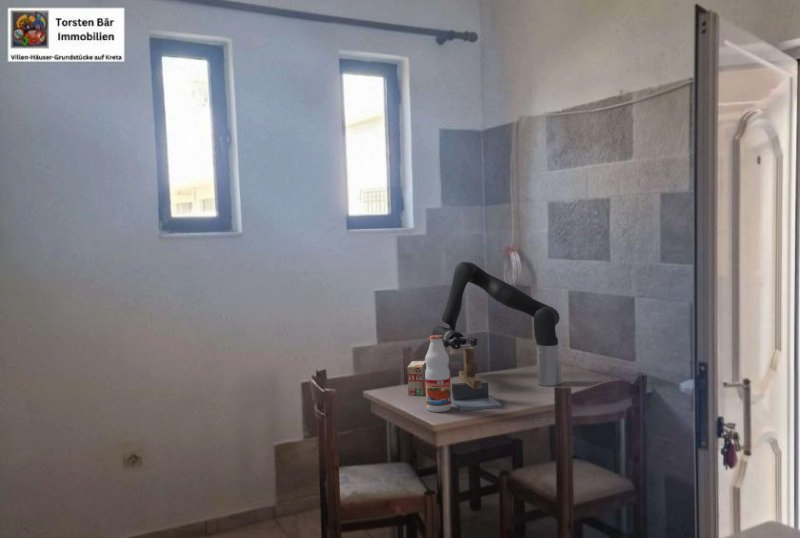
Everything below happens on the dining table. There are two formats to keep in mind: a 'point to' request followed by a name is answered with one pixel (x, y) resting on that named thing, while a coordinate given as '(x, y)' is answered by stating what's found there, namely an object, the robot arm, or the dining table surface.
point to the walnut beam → (469, 369)
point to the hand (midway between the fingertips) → (464, 344)
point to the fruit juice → (437, 376)
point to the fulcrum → (472, 397)
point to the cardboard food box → (416, 378)
